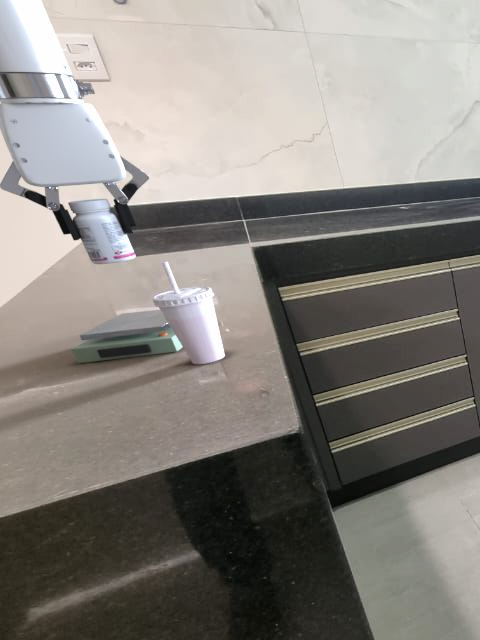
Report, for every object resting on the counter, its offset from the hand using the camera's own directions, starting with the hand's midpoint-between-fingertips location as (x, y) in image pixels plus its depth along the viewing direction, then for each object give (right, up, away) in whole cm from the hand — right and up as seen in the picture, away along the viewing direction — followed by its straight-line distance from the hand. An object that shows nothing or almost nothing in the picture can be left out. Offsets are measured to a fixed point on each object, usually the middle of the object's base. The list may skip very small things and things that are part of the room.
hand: (103, 234), depth 75 cm
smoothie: (+15, -18, 0) cm, 23 cm away
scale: (+1, -15, +7) cm, 17 cm away
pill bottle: (0, -4, +2) cm, 4 cm away
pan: (+1, -12, +6) cm, 14 cm away
